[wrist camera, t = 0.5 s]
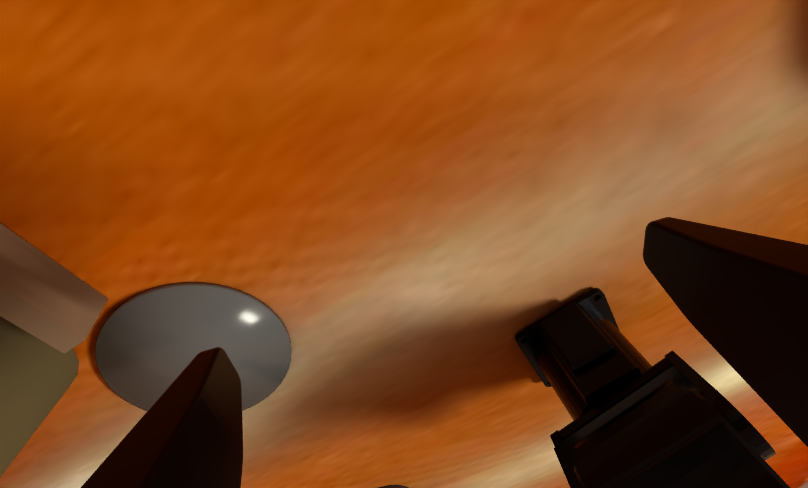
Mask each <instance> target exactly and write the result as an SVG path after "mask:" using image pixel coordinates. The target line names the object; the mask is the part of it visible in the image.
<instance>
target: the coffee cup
mask: <svg viewBox="0 0 808 488" xmlns="http://www.w3.org/2000/svg"><path fill="white" fill-rule="evenodd" d="M380 488H408V487H406V486H401V485H389V486H384V487H380Z"/></svg>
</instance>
